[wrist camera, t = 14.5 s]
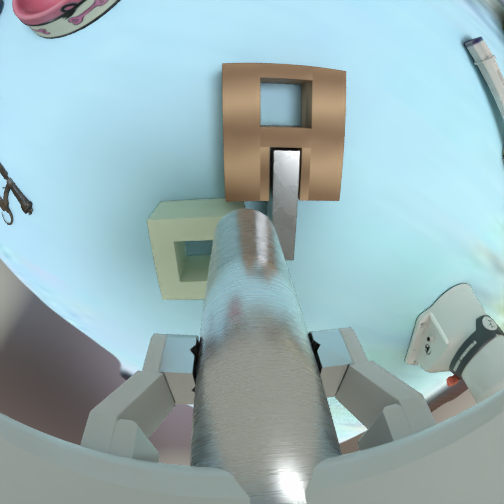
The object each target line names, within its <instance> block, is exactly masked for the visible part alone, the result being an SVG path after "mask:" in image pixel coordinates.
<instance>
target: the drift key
mask: <svg viewBox="0 0 504 504" xmlns="http://www.w3.org/2000/svg"><path fill="white" fill-rule="evenodd" d="M299 159H300V151H299V150H297V149H295V148H289V147H270V165H269V201H267V217H268V218H269V219H270V220H271V222H272V223H273V225H274V228H275V231H276V234H277V237H278V240H279V243H280V246H281V249H282V252H283V255H284V258H285V260H294V247H295V233H296V218H297V201H298V182H299Z"/></svg>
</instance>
